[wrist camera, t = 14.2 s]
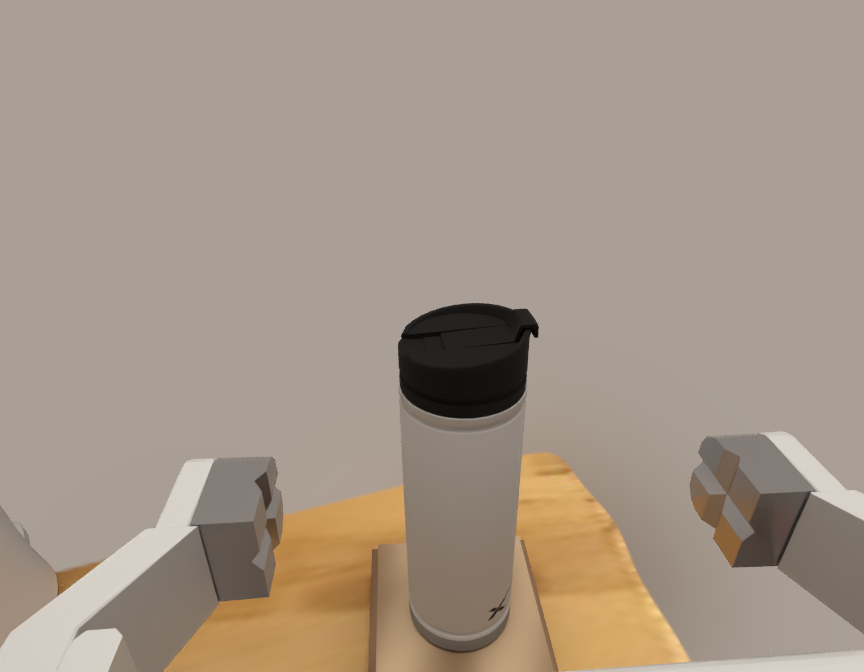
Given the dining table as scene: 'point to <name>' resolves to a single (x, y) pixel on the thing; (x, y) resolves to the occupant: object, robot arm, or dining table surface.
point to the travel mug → (462, 466)
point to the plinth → (438, 667)
